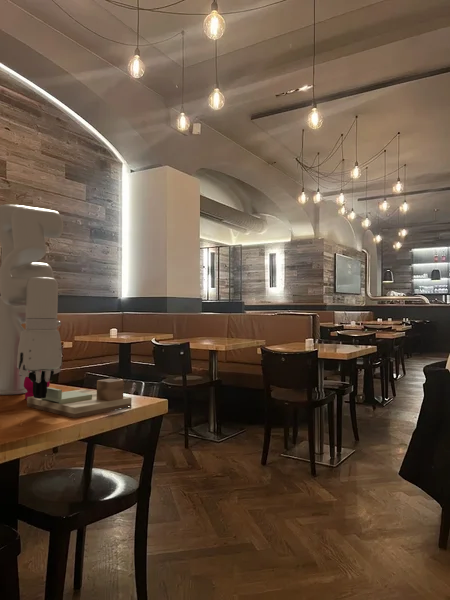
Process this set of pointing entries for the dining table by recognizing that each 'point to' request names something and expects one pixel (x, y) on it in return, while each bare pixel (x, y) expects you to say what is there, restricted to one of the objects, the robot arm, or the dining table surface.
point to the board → (79, 405)
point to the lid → (65, 396)
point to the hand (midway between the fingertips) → (39, 397)
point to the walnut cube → (110, 389)
